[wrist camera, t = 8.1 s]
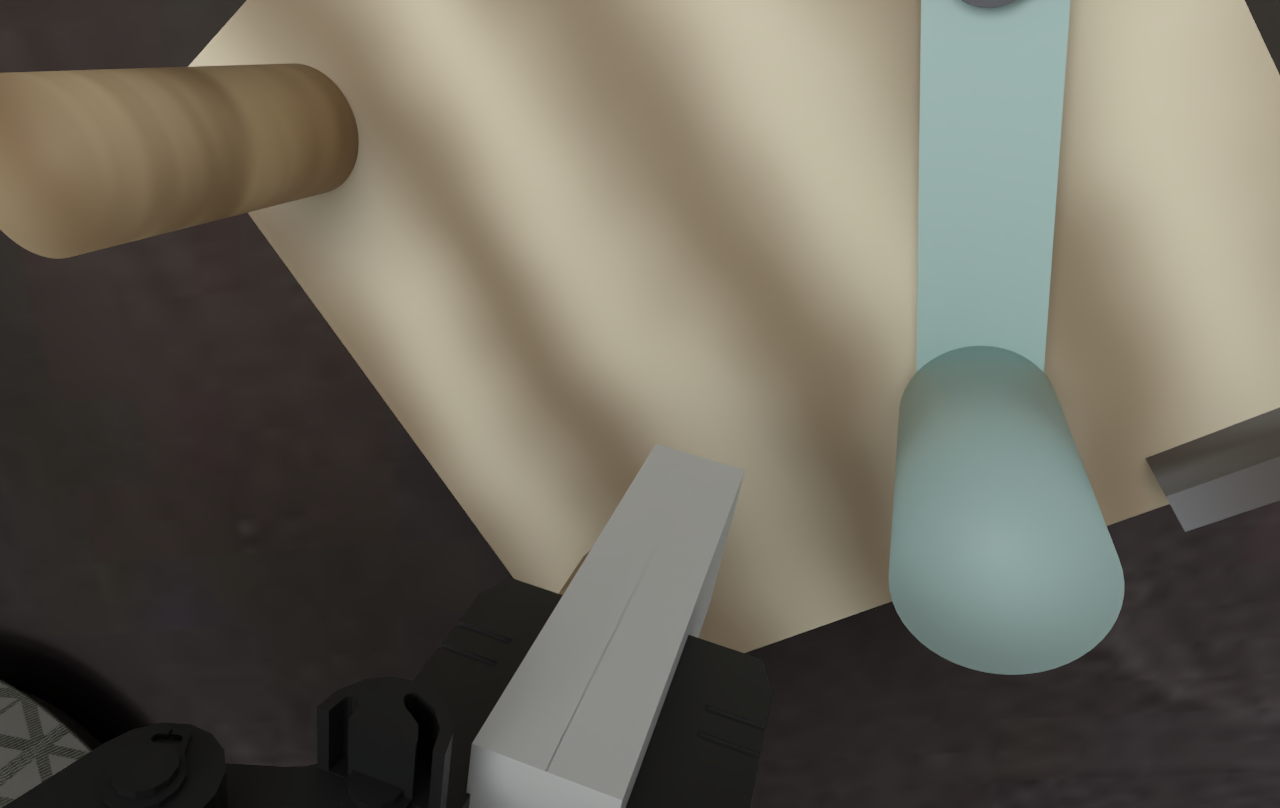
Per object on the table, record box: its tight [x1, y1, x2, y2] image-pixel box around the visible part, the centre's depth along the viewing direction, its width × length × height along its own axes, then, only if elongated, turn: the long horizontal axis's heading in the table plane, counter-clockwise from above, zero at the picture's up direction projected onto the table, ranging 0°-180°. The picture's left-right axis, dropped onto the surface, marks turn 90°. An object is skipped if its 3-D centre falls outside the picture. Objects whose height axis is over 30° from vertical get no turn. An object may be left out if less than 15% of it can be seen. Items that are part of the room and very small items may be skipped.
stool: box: [0, 0, 1280, 653], centre depth 19 cm, size 25×24×12 cm
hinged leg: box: [888, 0, 1124, 675], centre depth 16 cm, size 13×4×8 cm, turn 6°
